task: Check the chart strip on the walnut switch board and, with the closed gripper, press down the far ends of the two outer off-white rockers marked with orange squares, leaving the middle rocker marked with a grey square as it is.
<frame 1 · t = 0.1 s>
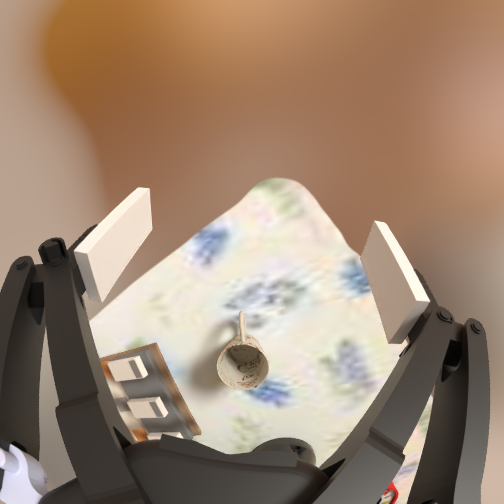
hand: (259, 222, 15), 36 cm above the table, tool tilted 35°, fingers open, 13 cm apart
toy clock: (360, 496, 50), on the table
rocker middle: (147, 407, 46), point 5 cm above the table, hinge at -12.0°
mug: (243, 338, 51), on the table
switch board: (144, 398, 51), on the table
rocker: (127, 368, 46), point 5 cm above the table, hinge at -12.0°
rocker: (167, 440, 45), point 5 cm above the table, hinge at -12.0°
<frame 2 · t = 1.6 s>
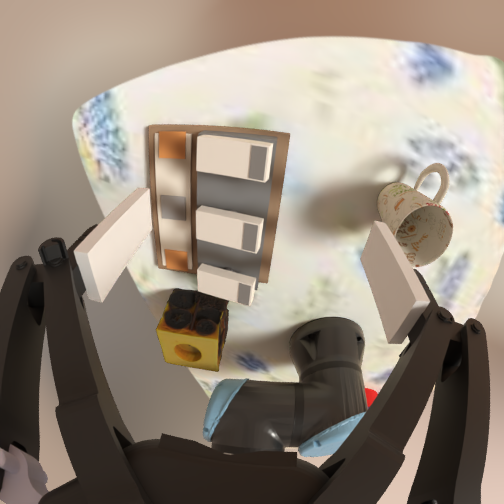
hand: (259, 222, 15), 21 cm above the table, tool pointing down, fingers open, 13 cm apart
rocker middle: (229, 227, 34), point 5 cm above the table, hinge at -12.0°
mug: (402, 188, 34), on the table
switch board: (213, 207, 38), on the table
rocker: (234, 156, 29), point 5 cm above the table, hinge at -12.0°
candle: (202, 309, 50), on the table
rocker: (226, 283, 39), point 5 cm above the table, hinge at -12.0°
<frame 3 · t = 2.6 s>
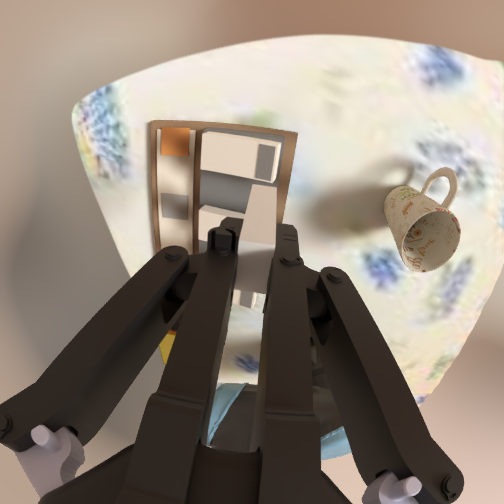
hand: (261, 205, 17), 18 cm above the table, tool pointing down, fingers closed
rocker middle: (233, 228, 33), point 5 cm above the table, hinge at -12.0°
mug: (409, 192, 33), on the table
switch board: (216, 206, 37), on the table
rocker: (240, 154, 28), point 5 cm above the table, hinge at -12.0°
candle: (201, 310, 49), on the table
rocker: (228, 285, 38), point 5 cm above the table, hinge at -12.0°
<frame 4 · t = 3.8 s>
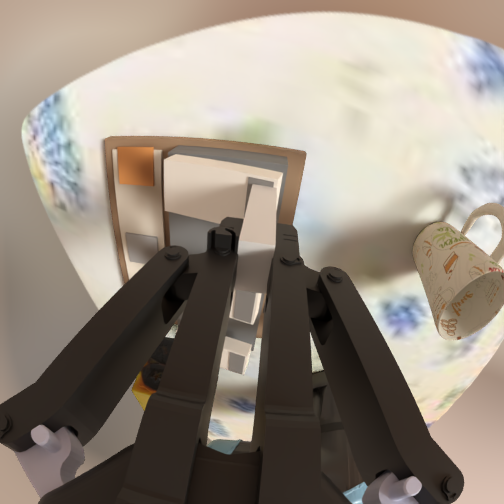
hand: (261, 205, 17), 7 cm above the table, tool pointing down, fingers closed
rocker middle: (215, 287, 24), point 5 cm above the table, hinge at -12.0°
mug: (444, 229, 24), on the table
switch board: (196, 249, 28), on the table
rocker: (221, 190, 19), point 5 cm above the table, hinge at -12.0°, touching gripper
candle: (187, 356, 40), on the table
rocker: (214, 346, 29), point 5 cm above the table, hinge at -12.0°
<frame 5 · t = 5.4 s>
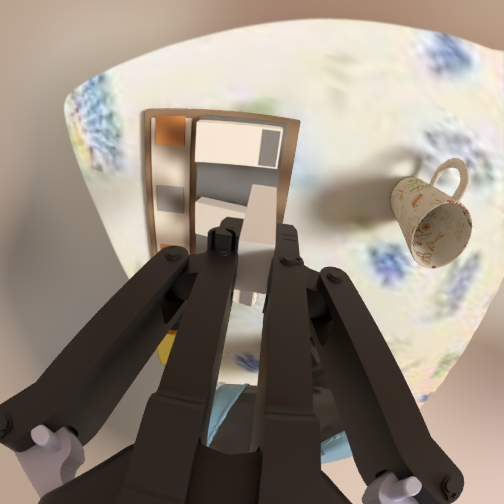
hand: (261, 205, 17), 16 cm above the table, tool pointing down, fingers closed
rocker middle: (232, 221, 31), point 5 cm above the table, hinge at -12.0°
mug: (416, 184, 31), on the table
switch board: (214, 199, 35), on the table
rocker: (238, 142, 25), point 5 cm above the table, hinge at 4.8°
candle: (200, 308, 47), on the table
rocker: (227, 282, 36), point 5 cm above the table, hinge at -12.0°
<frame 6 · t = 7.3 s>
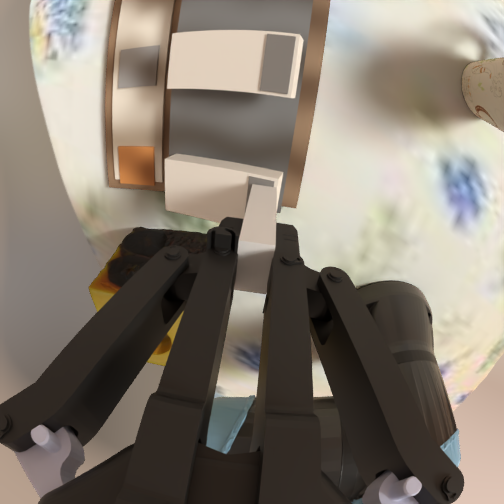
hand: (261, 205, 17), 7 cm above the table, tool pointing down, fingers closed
rocker middle: (234, 61, 14), point 5 cm above the table, hinge at -12.0°
mug: (486, 75, 14), on the table
switch board: (206, 65, 18), on the table
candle: (180, 266, 30), on the table
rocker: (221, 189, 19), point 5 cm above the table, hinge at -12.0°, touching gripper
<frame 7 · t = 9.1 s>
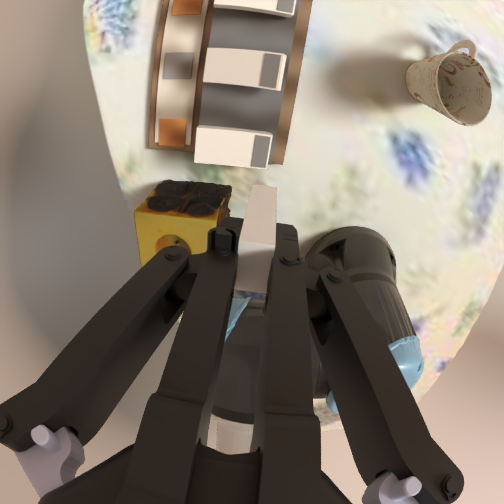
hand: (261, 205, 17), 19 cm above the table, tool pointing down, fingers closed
rocker middle: (244, 67, 24), point 5 cm above the table, hinge at -12.0°
mug: (429, 71, 24), on the table
switch board: (224, 67, 28), on the table
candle: (196, 211, 40), on the table
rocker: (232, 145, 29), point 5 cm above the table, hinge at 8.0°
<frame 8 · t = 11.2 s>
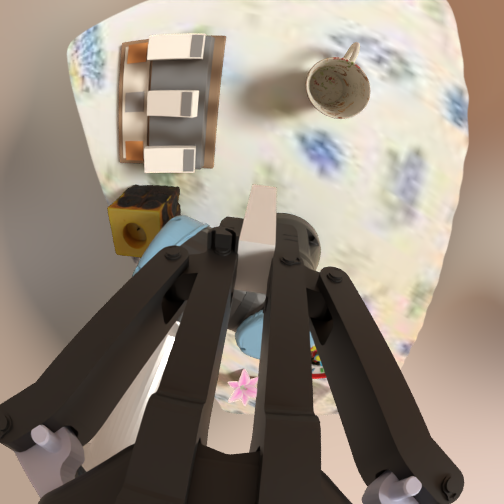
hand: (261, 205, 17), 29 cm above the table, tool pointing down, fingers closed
toy clock: (319, 341, 70), on the table
lily: (245, 376, 83), on the table
rocker middle: (172, 102, 35), point 5 cm above the table, hinge at -12.0°
mug: (330, 76, 35), on the table
switch board: (166, 100, 39), on the table
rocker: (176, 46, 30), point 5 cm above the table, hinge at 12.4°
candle: (157, 207, 52), on the table
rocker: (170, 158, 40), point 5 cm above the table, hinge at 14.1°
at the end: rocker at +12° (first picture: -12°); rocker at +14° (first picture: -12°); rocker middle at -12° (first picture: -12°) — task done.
